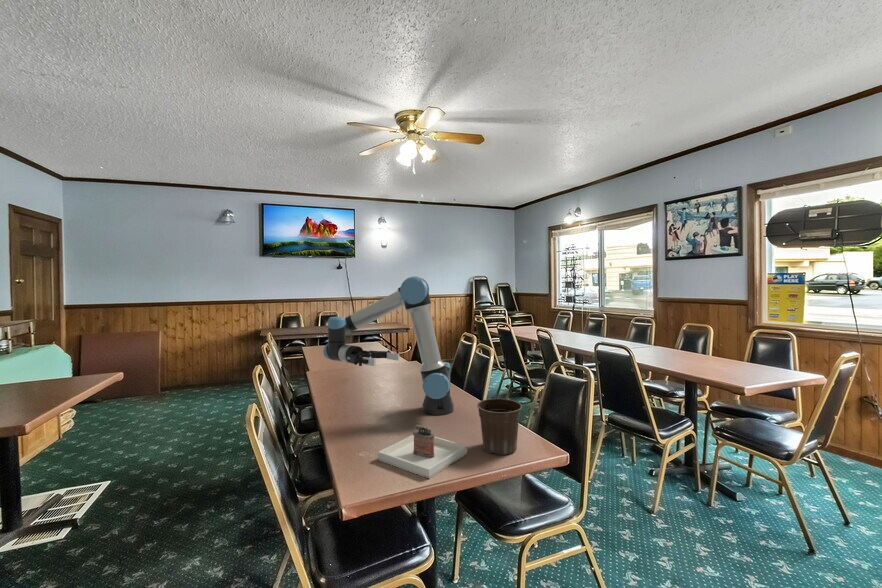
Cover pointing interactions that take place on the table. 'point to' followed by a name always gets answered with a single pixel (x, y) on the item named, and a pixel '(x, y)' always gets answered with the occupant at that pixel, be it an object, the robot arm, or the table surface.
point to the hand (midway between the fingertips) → (387, 359)
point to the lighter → (423, 442)
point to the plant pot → (499, 425)
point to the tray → (422, 466)
